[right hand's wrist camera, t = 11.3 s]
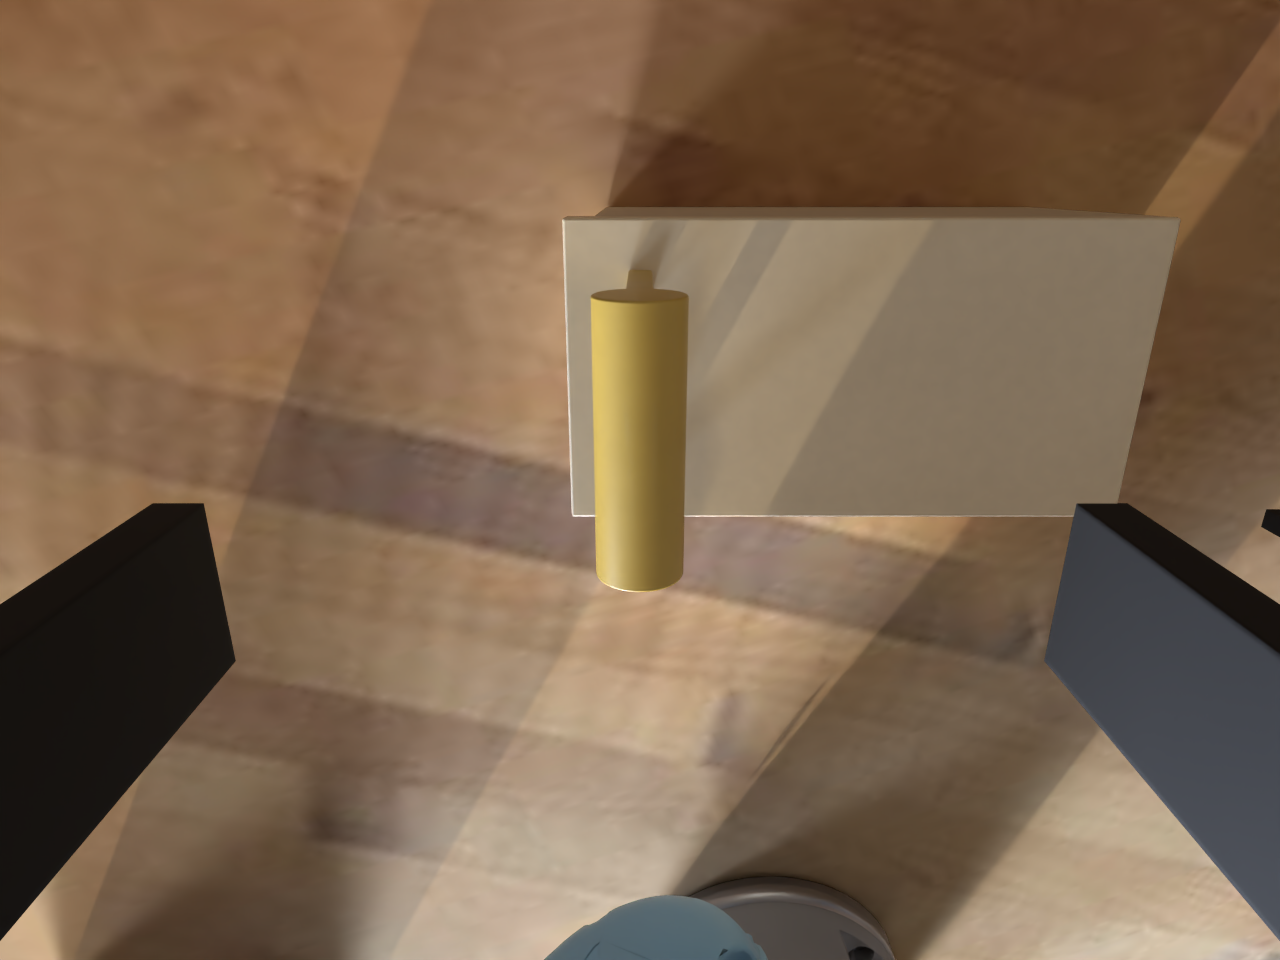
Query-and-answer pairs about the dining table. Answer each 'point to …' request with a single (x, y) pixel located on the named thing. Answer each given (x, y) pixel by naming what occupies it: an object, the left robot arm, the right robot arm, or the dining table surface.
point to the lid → (849, 368)
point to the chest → (848, 211)
